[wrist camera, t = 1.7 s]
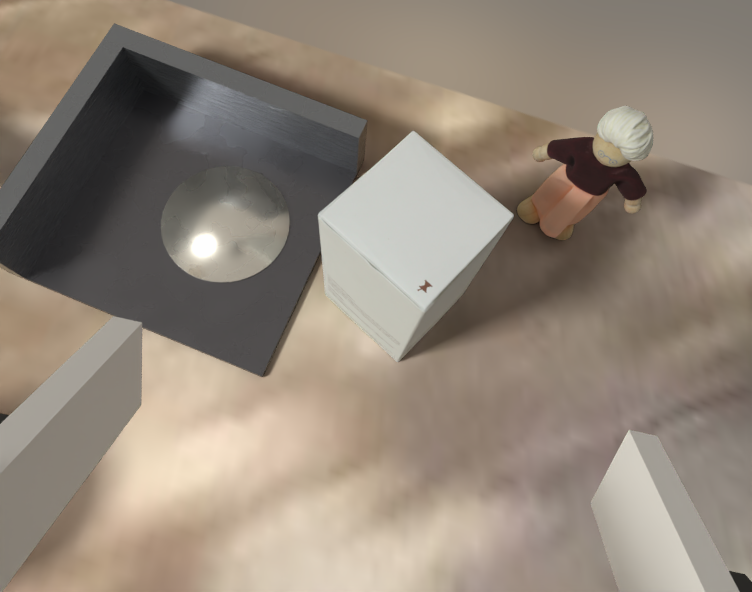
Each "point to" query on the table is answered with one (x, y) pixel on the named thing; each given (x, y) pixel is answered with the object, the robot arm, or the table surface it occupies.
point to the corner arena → (179, 196)
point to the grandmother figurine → (590, 172)
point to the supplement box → (406, 243)
